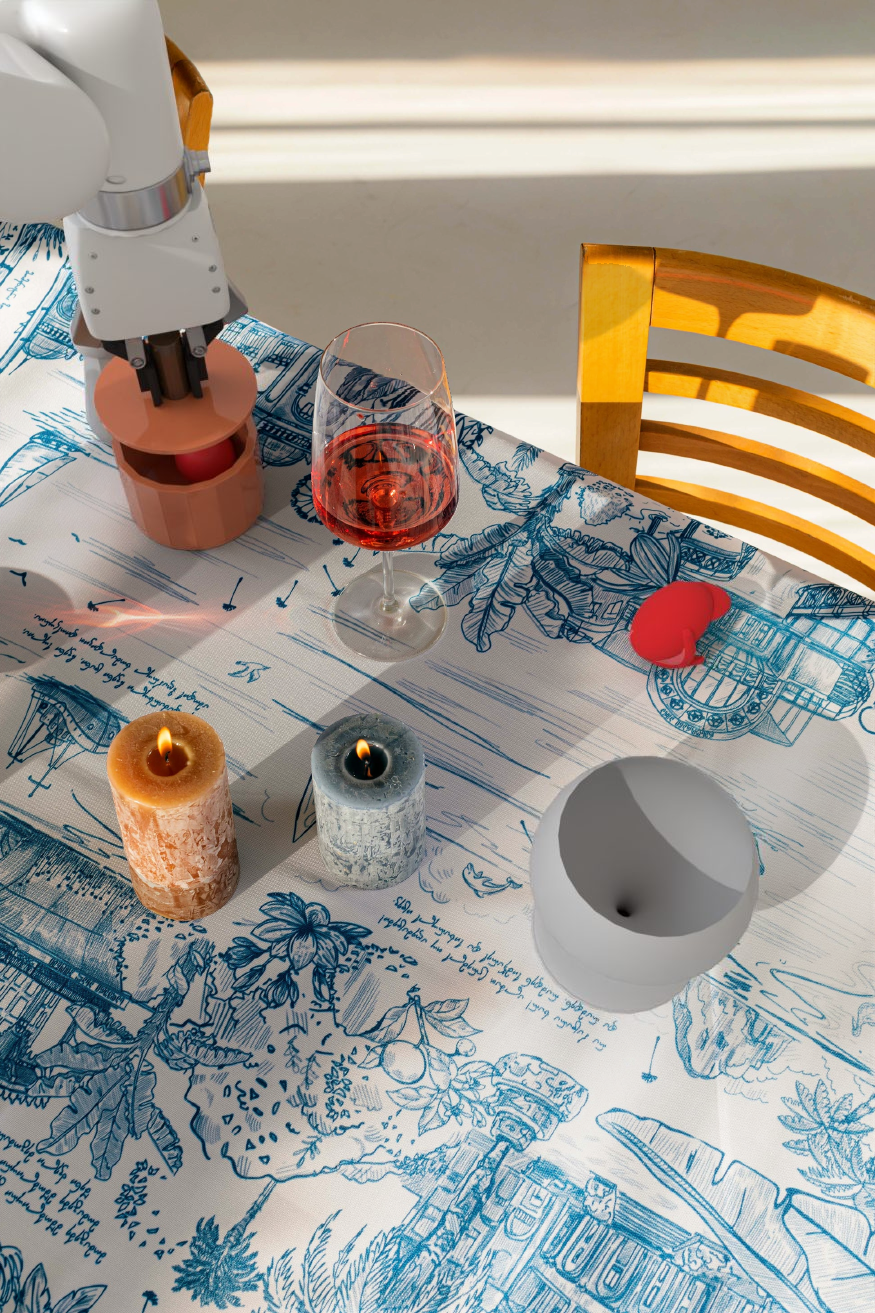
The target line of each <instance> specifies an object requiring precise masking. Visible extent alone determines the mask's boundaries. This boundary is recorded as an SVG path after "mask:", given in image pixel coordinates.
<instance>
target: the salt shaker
mask: <svg viewBox="0 0 875 1313" xmlns="http://www.w3.org/2000/svg"><path fill="white" fill-rule="evenodd" d="M72 320H73V318H72V319H71V320H70V323H69V327H68V333H69V334H68V335H69V338H70V340H71V343H72V346H73V347H74V350H75V351H76V353H79V354H80V355H82V360H83V362H82V363H83V379H84V380H83V381H84V402H85V403H84V404H85V419H86V422H87V424H88V426H89V428H90V430H91V432H92V434H93V435H95V436H96V437H97V438H98V439H99V440H100V441H101V442H102V443H103V444H104V445H106V446H109V447H111V448H112V445H111V444H112V443H111V442H112V439H113V436H112V435H111V434H109V433H108V432H107V430H106V429H105V428H104V427H103V425H102V424H101V422H100V420H99V418H98V415H97V413H96V410H95V405H94V390H95V385H96V382H97V380H98V377H99V375H100V374H101V372H102V370H103V369H104V368H105V366H106V365H107V364H108V363H109V362H110V361H111V360H112V359H113V358H114V357H115V356H116V355H113V354H111V353H109V352H107V351H105V350H104V348H99V349H97V348H91V347H84V346H78V345H75V344H74V343H73V341H72V336H71V331H70V327H71V324H72Z"/></svg>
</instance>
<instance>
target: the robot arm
mask: <svg viewBox="0 0 875 1313" xmlns="http://www.w3.org/2000/svg"><path fill="white" fill-rule="evenodd" d="M165 36H166V35H165V31H164V25H163V20H162V15H161V10H160V6H159V2H158V0H0V222H2V223H9V224H10V223H12V224H21V225H23V224H25V225H27V224H28V225H35V224H44V223H51V222H54V221H60V220H62V224H63V234H64V239H65V245H66V249H67V250H66V251H67V255H68V258H69V265H70V268H71V271H72V272H71V273H72V277H73V282H74V285H75V289H76V293H77V297H78V300H77V303H76V307H75V310H74V313H73V317H72V319H73V320H72V319H71V320H72V324H71V327H70V326H69V327H70V331H71V336H72V341H73V343H74V344H75V345H78V346H84V347H91V348H97V349H99V348H104V350H105V351H107V352H109V353H111V354H113V355H116V356H118V357H120V358H122V359H124V360H126V361H129V364H130V366H131V367H132V368H134V369H135V370H136V374H137V378H138V382H139V386H140V390H141V392H146V391H151V395H152V399H153V403H154V407H156V406H161V404H162V403H163V400H162V396H161V392H160V388H159V383H158V379H157V375H156V371H155V366H154V362H153V358H152V356H151V352H150V348H149V344H148V343H146V341H145V339H146V338H144V339H143V337H147V335H153V334H159V333H164V332H169V331H175V330H179V331H180V330H184V331H182V332H181V333H182V337H181V339H182V344H183V349H184V356H185V360H186V365H187V370H188V375H189V380H190V384H191V389H192V393H193V397H196V398H197V399H198V398H203V393H202V388H201V383H200V381H204V380H209V378H208V373H207V367H206V362H205V357H204V356H205V355H206V354H207V352H208V349H207V346H208V345H209V344H210V343H211V342H212V341H213V340H214V339H215V338H216V339H217V337H218V336H219V334H221V332H223V330H224V328H225V326H226V325H228V326H229V325H230V324H232V323H234V322H237V321H238V320H239V319H241V318H243V317H245V316H246V315H247V314H248V312H249V306H248V303H247V300H246V296H244V294H243V293H242V292H241V291H240V289H239V288H238V287H237V286H236V284H235V283H234V282H233V281H232V279H230V277H229V276H228V275H227V274H226V270H225V266H224V265H225V264H224V260H223V256H222V250H221V246H220V242H219V239H218V234H217V230H216V225H215V222H214V219H213V215H212V212H211V208H210V204H209V201H208V198H207V195H206V193H205V190H204V188H203V186H202V184H201V181H200V179H199V178H198V177H201V175H203V174H207V173H212V168H211V161H210V158H209V154H208V150H206V149H203V150H199V151H196V149H191V150H189V147H188V145H184V141H183V135H182V129H181V123H180V117H179V111H178V106H177V100H176V95H175V89H174V88H175V87H174V82H173V76H172V71H171V66H170V59H169V54H168V47H167V43H166V42H167V41H166V37H165ZM72 341H71V342H72ZM73 343H72V344H73Z"/></svg>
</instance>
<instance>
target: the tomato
mask: <svg viewBox="0 0 875 1313" xmlns="http://www.w3.org/2000/svg"><path fill="white" fill-rule="evenodd" d="M234 462H235V452H234V448H233V445H232V443H231V441H230V440H229V438H227V439H225V440H223V441H221V442H220V443H218V444H216V445H213V446H211V447H208V448H206V449H202V450H199V451H196V452H190V453H185V454H175V463H176V466H177V468H178V470H179V472H180V473H181V474H182V476H183V477H184V478H185V479H186V480H188V481H189V482H191V483H193V484H195V483H200V482H204V481H208V480H212V479H214V478H215V477H217V476H218V475H220V474H222V473H223V472H225V471H227V470H228V469H230V468H232V467H233V465H234Z"/></svg>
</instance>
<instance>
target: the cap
mask: <svg viewBox="0 0 875 1313" xmlns="http://www.w3.org/2000/svg"><path fill="white" fill-rule="evenodd" d="M731 605H732V600H731V596H730V595H729V593H728V592H726V590H725V589H723V588H721V587H720V586H718V585H716V584H713V583H709V582H704V581H684V580H676V581H673V582H671V583H669V584H667V585H665V586H663V587H661V588H659V589H658V590H656V591H654V592H653V593H652V594H650V596H648V597H647V598H646V599H645V600H644V601H643V603H642V604H641V605H640V606H639V607H638V609H637V611H636V612H635V615H634V616H633V618H632V621H631V624H630V629H629V632H628V636H627V638H628V642H629V644H630V646H631V648H632V649H633V651H634V652H635V653H636V655H638V656H639V657H640V658H642V659H644V660H646V661H647V662H649V663H652V664H653V665H654V666H657V667H660V668H663V669H669V670H670V669H671V670H675V669H685V668H688V667H689V668H690V667H693V666H700V665H702V664H703V663H704V662H705V656H704V655H696V653H697V648H696V643H697V641H699V640H700V639H701V637H703V635H704V633H705V632H706V631H707V629H708V627H709V625H710V622H714V621H717V620H718V619H720V618H722V617H723V616H725V615H726V614H727V613H728V612H729V610H730V608H731Z"/></svg>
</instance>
